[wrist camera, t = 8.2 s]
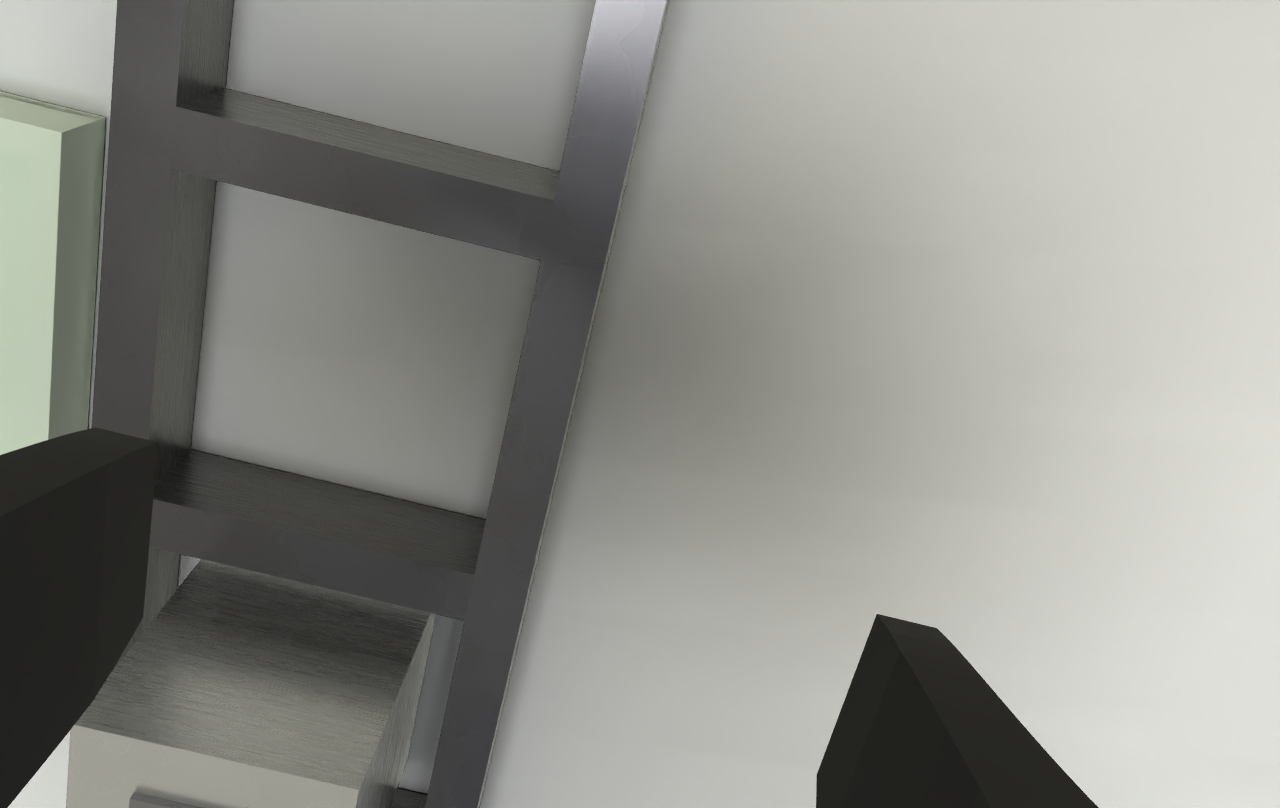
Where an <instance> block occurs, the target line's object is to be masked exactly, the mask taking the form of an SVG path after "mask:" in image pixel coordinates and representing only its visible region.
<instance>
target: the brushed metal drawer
mask: <svg viewBox="0 0 1280 808" xmlns="http://www.w3.org/2000/svg"><path fill="white" fill-rule="evenodd" d="M435 617H436V614H433V613H429V612H425V611H420V610H416V609H412V608H408V607H403V606H399V605H395V604H391V603H386V602H382V601H378V600H374V599H369V598H365V597H361V596H357V595H352V594H348V593H344V592H340V591H335V590H331V589H327V588H323V587H318V586H314V585H310V584H306V583H302V582H297V581H293V580H289V579H285V578H280V577H276V576H272V575H268V574H263V573H259V572H255V571H251V570H246V569H242V568H238V567H234V566H229V565H225V564H221V563H217V562H212V561H208V560H204V559H201V560H200V561H199V563H198V564H197V565H196V566H195V568H194V569H193V570H192V571H191V573H190V574H189V575H188V577H187V578H186V579H185V580H184V582H183V583H182V584H181V585H180V587H179V588H178V589H177V590H176V592H175V593H174V594H173V595H172V597H171V598H170V599H169V601H168V602H167V603H166V604H165V606H164V607H163V608H162V609H161V611H160V612H159V613H158V614H157V616H156V617H155V618H154V620H153V621H152V622H151V623H150V625H149V626H148V627H147V628H146V630H145V631H144V632H143V633H142V635H141V636H140V637H139V639H138V640H137V641H136V642H135V644H134V645H133V646H132V647H131V649H130V650H129V651H128V652H127V654H126V655H125V656H124V657H123V659H122V660H121V661H120V663H119V664H118V665H117V666H116V668H115V669H114V670H113V671H112V673H111V674H110V675H109V676H108V678H107V680H106V681H105V683H104V684H103V686H102V688H101V689H100V691H99V692H98V694H97V696H96V697H95V699H94V700H93V702H92V703H91V704H90V706H89V707H88V708H87V709H86V711H85V712H84V713H83V715H82V716H81V717H80V718H79V720H78V721H77V722H76V723H75V725H74V726H73V727H72V728H71V730H70V748H69V765H68V783H67V801H66V808H390V806H391V803H392V800H393V798H394V795H395V792H396V789H397V787H398V784H399V781H400V778H401V776H402V773H403V770H404V767H405V765H406V762H407V758H408V753H409V748H410V743H411V738H412V733H413V728H414V723H415V718H416V713H417V707H418V702H419V697H420V692H421V687H422V682H423V677H424V672H425V667H426V662H427V657H428V652H429V647H430V642H431V637H432V632H433V627H434V622H435Z"/></svg>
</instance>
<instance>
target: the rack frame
mask: <svg viewBox="0 0 1280 808" xmlns="http://www.w3.org/2000/svg"><path fill="white" fill-rule="evenodd" d="M233 2H234V0H117V16H116V33H115V49H114V66H113V83H112V100H111V116H110V133H109V150H108V167H107V183H106V200H105V217H104V234H103V250H102V267H101V284H100V301H99V317H98V334H97V351H96V368H95V384H94V401H93V418H92V428H100V429H105V430H109V431H113V432H117V433H121V434H126V435H130V436H134V437H138V438H142V439H146V440H151V441H155V442H158V448H157V460H156V472H155V484H154V496H153V508H152V519H151V531H150V543H149V555H148V567H147V579H146V590H145V602H144V614H143V619H142V621H141V622H140V624H139V626H138V627H137V629H136V631H135V633H134V634H133V636H132V638H131V639H130V641H129V643H128V645H127V646H126V648H125V650H124V652H123V653H122V655H121V657H120V658H119V660H118V662H117V664H116V665H115V667H114V668H113V670H114V669H115V668H116V666H117V665H118V664H119V663H120V661H121V660H122V659H123V657H124V656H125V655H126V654H127V652H128V651H129V650H130V649H131V647H132V646H133V645H134V644H135V642H136V641H137V640H138V639H139V637H140V636H141V635H142V633H143V632H144V631H145V630H146V628H147V627H148V626H149V625H150V623H151V622H152V621H153V620H154V618H155V617H156V616H157V614H158V613H159V612H160V611H161V609H162V608H163V607H164V606H165V604H166V603H167V602H168V601H169V599H170V598H171V597H172V595H173V594H174V593H175V592H176V590H177V581H178V571H179V560H180V554H183V555H187V556H191V557H195V558H200V559H204V560H208V561H212V562H217V563H221V564H225V565H229V566H234V567H238V568H242V569H246V570H251V571H255V572H259V573H263V574H268V575H272V576H276V577H280V578H285V579H289V580H293V581H297V582H302V583H306V584H310V585H314V586H318V587H323V588H327V589H331V590H335V591H340V592H344V593H348V594H352V595H357V596H361V597H365V598H369V599H374V600H378V601H382V602H386V603H391V604H395V605H399V606H403V607H408V608H412V609H416V610H420V611H425V612H429V613H433V614H437V615H442V616H446V617H450V618H454V619H458V620H463V621H464V626H463V631H462V636H461V640H460V645H459V650H458V655H457V659H456V664H455V669H454V673H453V678H452V683H451V688H450V692H449V697H448V702H447V706H446V711H445V716H444V721H443V725H442V730H441V735H440V739H439V744H438V749H437V754H436V758H435V763H434V768H433V773H432V777H431V782H430V787H429V791H428V795H424V794H420V793H415V792H411V791H407V790H402V789H398V788H397V789H396V792H395V795H394V798H393V800H392V803H391V806H390V808H479V807H480V803H481V799H482V795H483V790H484V786H485V782H486V778H487V773H488V769H489V765H490V761H491V756H492V752H493V748H494V744H495V739H496V735H497V731H498V727H499V722H500V718H501V714H502V709H503V705H504V701H505V697H506V692H507V688H508V684H509V680H510V675H511V671H512V667H513V663H514V658H515V654H516V650H517V646H518V641H519V637H520V633H521V629H522V624H523V620H524V616H525V612H526V607H527V603H528V599H529V595H530V590H531V586H532V582H533V578H534V573H535V569H536V565H537V561H538V556H539V552H540V548H541V544H542V539H543V535H544V531H545V527H546V522H547V518H548V514H549V509H550V505H551V501H552V497H553V492H554V488H555V484H556V480H557V475H558V471H559V467H560V463H561V458H562V454H563V450H564V446H565V441H566V437H567V433H568V429H569V424H570V420H571V416H572V412H573V407H574V403H575V399H576V395H577V390H578V386H579V382H580V378H581V373H582V369H583V365H584V361H585V356H586V352H587V348H588V344H589V339H590V335H591V331H592V327H593V322H594V318H595V314H596V310H597V305H598V301H599V297H600V292H601V288H602V284H603V280H604V275H605V271H606V267H607V263H608V258H609V254H610V250H611V246H612V241H613V237H614V233H615V229H616V224H617V220H618V216H619V212H620V207H621V203H622V199H623V195H624V190H625V186H626V182H627V178H628V173H629V169H630V165H631V161H632V156H633V152H634V148H635V144H636V139H637V135H638V131H639V127H640V122H641V118H642V114H643V110H644V105H645V101H646V97H647V93H648V88H649V84H650V80H651V75H652V71H653V67H654V63H655V58H656V54H657V50H658V46H659V41H660V37H661V33H662V29H663V24H664V20H665V16H666V12H667V7H668V3H669V0H596V3H595V8H594V12H593V17H592V22H591V27H590V31H589V36H588V41H587V45H586V50H585V55H584V60H583V64H582V69H581V74H580V78H579V83H578V88H577V93H576V97H575V102H574V107H573V111H572V116H571V121H570V126H569V130H568V135H567V140H566V145H565V149H564V154H563V159H562V163H561V168H560V172H558V171H554V170H550V169H546V168H542V167H538V166H534V165H530V164H526V163H522V162H518V161H514V160H510V159H506V158H502V157H498V156H494V155H490V154H486V153H482V152H478V151H474V150H470V149H466V148H462V147H458V146H454V145H450V144H446V143H442V142H438V141H434V140H430V139H426V138H422V137H418V136H414V135H410V134H406V133H402V132H398V131H394V130H390V129H386V128H382V127H378V126H374V125H370V124H366V123H362V122H358V121H354V120H350V119H346V118H342V117H338V116H334V115H330V114H326V113H322V112H318V111H314V110H310V109H306V108H302V107H298V106H294V105H290V104H286V103H282V102H278V101H274V100H270V99H266V98H262V97H258V96H254V95H250V94H246V93H242V92H238V91H234V90H230V89H226V88H225V84H226V74H227V64H228V53H229V43H230V33H231V22H232V12H233ZM216 180H217V181H221V182H225V183H229V184H233V185H237V186H241V187H245V188H249V189H253V190H257V191H261V192H265V193H269V194H273V195H277V196H282V197H286V198H290V199H294V200H298V201H302V202H306V203H310V204H314V205H318V206H322V207H326V208H330V209H334V210H338V211H342V212H346V213H350V214H354V215H358V216H363V217H367V218H371V219H375V220H379V221H383V222H387V223H391V224H395V225H399V226H403V227H407V228H411V229H415V230H419V231H423V232H427V233H431V234H435V235H439V236H443V237H448V238H452V239H456V240H460V241H464V242H468V243H472V244H476V245H480V246H484V247H488V248H492V249H496V250H500V251H504V252H508V253H512V254H516V255H520V256H524V257H529V258H533V259H537V260H541V263H540V267H539V272H538V277H537V281H536V286H535V291H534V296H533V300H532V305H531V310H530V315H529V319H528V324H527V329H526V333H525V338H524V343H523V348H522V352H521V357H520V362H519V366H518V371H517V376H516V381H515V385H514V390H513V395H512V400H511V404H510V409H509V414H508V418H507V423H506V428H505V433H504V437H503V442H502V447H501V451H500V456H499V461H498V466H497V470H496V475H495V480H494V485H493V489H492V494H491V499H490V503H489V508H488V513H487V518H486V520H483V519H479V518H475V517H471V516H467V515H463V514H458V513H454V512H450V511H446V510H442V509H437V508H433V507H429V506H425V505H421V504H417V503H412V502H408V501H404V500H400V499H396V498H391V497H387V496H383V495H379V494H375V493H370V492H366V491H362V490H358V489H354V488H350V487H345V486H341V485H337V484H333V483H329V482H324V481H320V480H316V479H312V478H308V477H303V476H299V475H295V474H291V473H287V472H283V471H278V470H274V469H270V468H266V467H262V466H257V465H253V464H249V463H245V462H241V461H236V460H232V459H228V458H224V457H220V456H216V455H211V454H207V453H203V452H199V451H195V450H190V447H191V436H192V426H193V416H194V405H195V395H196V385H197V374H198V364H199V353H200V343H201V333H202V322H203V312H204V302H205V291H206V281H207V271H208V260H209V250H210V240H211V229H212V219H213V209H214V198H215V188H216ZM113 670H112V671H113ZM111 673H112V672H111ZM111 673H110V674H111Z"/></svg>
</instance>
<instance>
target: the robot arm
mask: <svg viewBox="0 0 1280 808" xmlns="http://www.w3.org/2000/svg"><path fill="white" fill-rule="evenodd" d="M157 448H158V442H155V441H151V440H146V439H142V438H138V437H134V436H130V435H126V434H121V433H117V432H113V431H109V430H105V429H100V428H91V429H87V430H82V431H78V432H74V433H70V434H66V435H63V436H59V437H56V438H52V439H49V440H46V441H43V442H39V443H36V444H33V445H30V446H27V447H24V448H20V449H17V450H14V451H11V452H8V453H5V454H2V455H0V808H7V807H8V806H9V805H10V804H11V803H12V801H13V800H14V799H15V798H16V796H17V795H18V794H19V793H20V792H21V790H22V789H23V788H24V787H25V785H26V784H27V783H28V782H29V781H30V779H31V778H32V777H33V776H34V774H35V773H36V772H37V771H38V770H39V768H40V767H41V766H42V765H43V763H44V762H45V761H46V760H47V758H48V757H49V756H50V755H51V753H52V752H53V751H54V750H55V748H56V747H57V746H58V745H59V743H60V742H61V741H62V740H63V738H64V737H65V736H66V735H67V733H68V732H69V731H70V730H71V728H72V727H73V726H74V725H75V723H76V722H77V721H78V720H79V718H80V717H81V716H82V715H83V713H84V712H85V711H86V709H87V708H88V707H89V706H90V704H91V703H92V702H93V700H94V699H95V697H96V696H97V694H98V692H99V691H100V689H101V688H102V686H103V684H104V683H105V681H106V680H107V678H108V676H109V675H110V673H111V672H112V670H113V668H114V667H115V665H116V664H117V662H118V660H119V658H120V657H121V655H122V653H123V652H124V650H125V648H126V646H127V645H128V643H129V641H130V639H131V638H132V636H133V634H134V633H135V631H136V629H137V627H138V626H139V624H140V622H141V621H142V619H143V614H144V602H145V590H146V579H147V567H148V555H149V543H150V531H151V519H152V508H153V496H154V484H155V472H156V460H157ZM816 808H1098V807H1097V806H1096V805H1095V804H1094V803H1093V802H1092V801H1091V800H1090V799H1089V798H1088V797H1087V795H1086V794H1085V793H1084V792H1083V791H1082V790H1081V789H1080V788H1079V787H1078V786H1077V785H1076V784H1075V783H1074V782H1073V780H1072V779H1071V778H1070V777H1069V776H1068V775H1067V774H1066V773H1065V772H1064V771H1063V770H1062V769H1061V767H1060V766H1059V765H1058V764H1057V763H1056V762H1055V761H1054V760H1053V759H1052V758H1051V756H1050V755H1049V754H1048V753H1047V752H1046V751H1045V750H1044V749H1043V747H1042V746H1041V745H1040V744H1039V743H1038V742H1037V741H1036V740H1035V738H1034V737H1033V736H1032V735H1031V734H1030V733H1029V732H1028V730H1027V729H1026V728H1025V727H1024V726H1023V725H1022V724H1021V722H1020V721H1019V720H1018V719H1017V718H1016V717H1015V715H1014V714H1013V713H1012V712H1011V711H1010V710H1009V709H1008V707H1007V706H1006V705H1005V704H1004V703H1003V702H1002V700H1001V699H1000V698H999V697H998V696H997V695H996V693H995V692H994V691H993V690H992V689H991V688H990V686H989V685H988V684H987V683H986V682H985V680H984V679H983V678H982V677H981V676H980V675H979V674H978V672H977V671H976V670H975V669H974V668H973V667H972V665H971V664H970V663H969V662H968V661H967V660H966V659H965V657H964V656H963V655H962V654H961V653H960V652H959V651H958V650H957V648H956V647H955V646H954V645H953V644H952V643H951V642H950V641H949V640H948V639H947V638H946V637H945V636H944V635H943V634H942V633H941V632H940V631H939V630H938V629H937V628H934V627H929V626H925V625H921V624H917V623H913V622H908V621H904V620H900V619H896V618H892V617H887V616H883V615H879V614H877V615H876V618H875V621H874V623H873V626H872V629H871V631H870V634H869V637H868V639H867V642H866V645H865V647H864V650H863V653H862V655H861V658H860V661H859V663H858V666H857V669H856V671H855V674H854V677H853V679H852V682H851V685H850V687H849V690H848V693H847V696H846V698H845V701H844V704H843V706H842V709H841V712H840V714H839V717H838V720H837V722H836V725H835V728H834V730H833V733H832V736H831V738H830V741H829V744H828V746H827V749H826V752H825V754H824V757H823V760H822V762H821V765H820V768H819V770H818V773H817V797H816Z"/></svg>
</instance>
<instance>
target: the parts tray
mask: <svg viewBox="0 0 1280 808" xmlns="http://www.w3.org/2000/svg"><path fill="white" fill-rule="evenodd" d="M105 121H106V117H102V116H98V115H94V114H90V113H86V112H82V111H78V110H74V109H70V108H66V107H62V106H58V105H54V104H50V103H46V102H42V101H37V100H33V99H29V98H25V97H21V96H17V95H13V94H9V93H5V92H1V91H0V455H2V454H5V453H8V452H11V451H14V450H17V449H20V448H24V447H27V446H30V445H33V444H36V443H39V442H43V441H46V440H49V439H52V438H56V437H59V436H63V435H66V434H70V433H74V432H78V431H82V430H87V429H88V414H89V396H90V379H91V362H92V345H93V328H94V310H95V293H96V276H97V259H98V242H99V224H100V207H101V190H102V173H103V156H104V138H105Z"/></svg>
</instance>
